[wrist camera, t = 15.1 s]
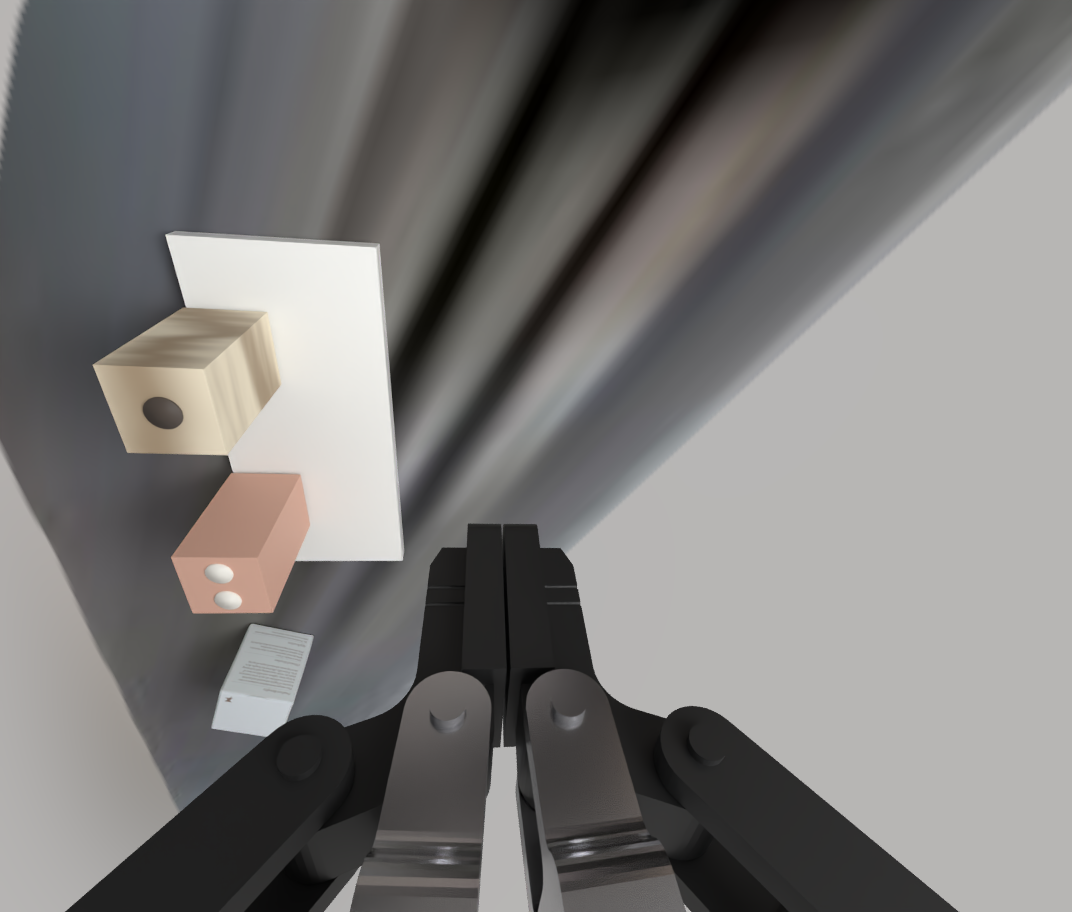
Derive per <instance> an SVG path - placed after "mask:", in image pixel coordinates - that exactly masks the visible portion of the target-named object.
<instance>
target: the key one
mask: <svg viewBox="0 0 1072 912" xmlns="http://www.w3.org/2000/svg"><path fill="white" fill-rule="evenodd" d="M93 367H94V369H95V372H96V374H97V377H98V380H99V382H100V385H101V387H102V390H103V392H104V395H105V397H106V400H107V402H108V405H109V407H110V410H111V412H112V415H113V417H114V420H115V422H116V425H117V427H118V430H119V432H120V435H121V438H122V440H123V443H124V445H125V448H126V450H127V453H159V454H200V455H228V454H229V452H230V451H231V450H232V448H233V447H234V446H235V445H236V443H237V442H238V441H239V439H240V438H241V437H242V435H243V434H244V433H245V431H246V430H247V429H248V427H249V426H250V425H251V424H252V422H253V421H254V420H255V418H256V417H257V416H258V414H259V413H260V412H261V410H262V409H263V408H264V407H265V405H266V404H267V403H268V401H269V400H270V399H271V397H272V396H273V395H274V393H275V392H276V391H277V389H278V388H279V387H280V386H281V379H280V374H279V369H278V363H277V358H276V353H275V348H274V343H273V338H272V333H271V327H270V322H269V317H268V312H258V311H239V310H221V309H202V308H182V309H180V310H178V311H177V312H175V313H174V314H172V315H171V316H169V317H167V318H166V319H164V320H163V321H161V322H159V323H158V324H156V325H155V326H153V327H152V328H150V329H148V330H147V331H145V332H144V333H142V334H140V335H139V336H137V337H136V338H134V339H133V340H131V341H129V342H128V343H126V344H125V345H123V346H121V347H120V348H118V349H117V350H115V351H114V352H112V353H110V354H109V355H107V356H106V357H104V358H102V359H101V360H99V361H98V362H96V363H95V364H93Z"/></svg>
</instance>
